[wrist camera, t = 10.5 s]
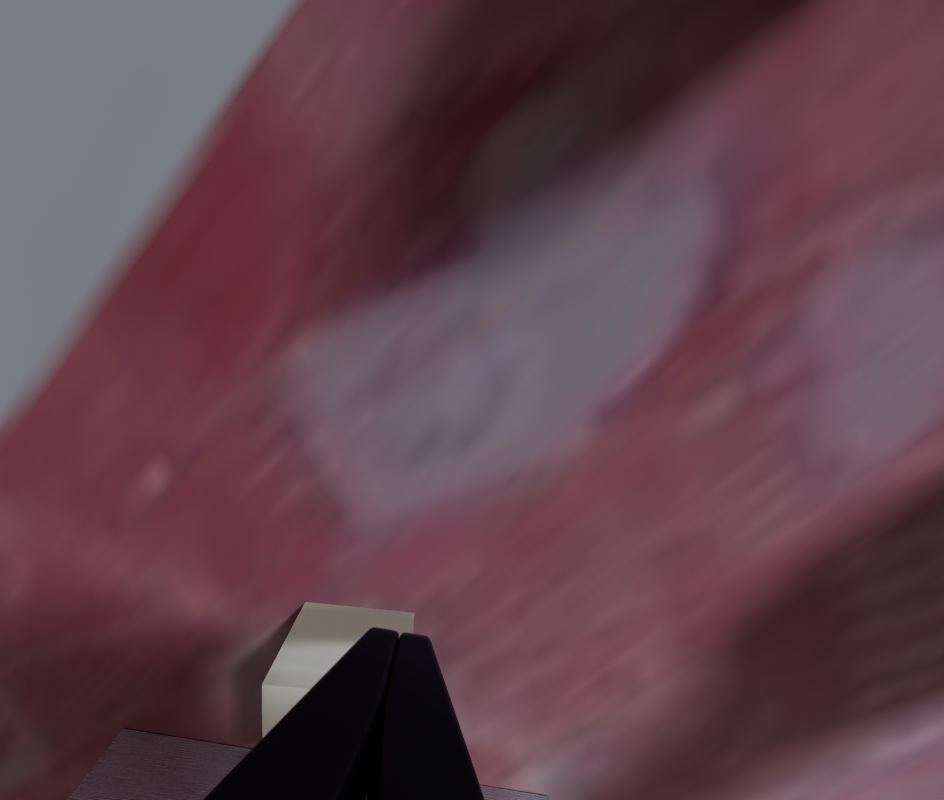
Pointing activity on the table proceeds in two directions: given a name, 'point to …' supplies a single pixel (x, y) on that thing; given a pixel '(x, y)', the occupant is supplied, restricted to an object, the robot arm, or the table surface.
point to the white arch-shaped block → (180, 770)
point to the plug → (319, 651)
